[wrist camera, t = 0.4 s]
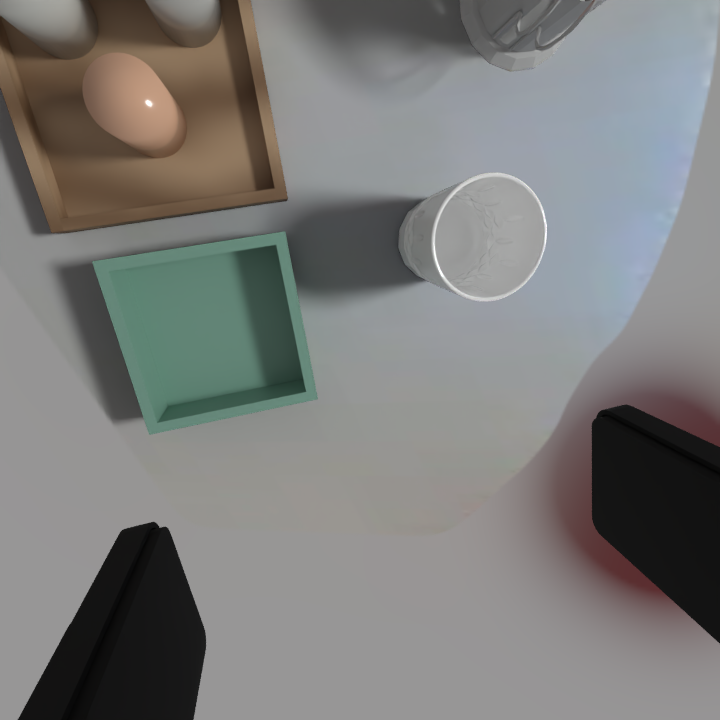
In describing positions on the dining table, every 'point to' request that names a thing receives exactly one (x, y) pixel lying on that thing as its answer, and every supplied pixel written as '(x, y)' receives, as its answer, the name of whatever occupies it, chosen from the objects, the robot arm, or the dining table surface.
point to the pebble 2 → (187, 20)
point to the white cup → (476, 237)
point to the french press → (521, 28)
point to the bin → (209, 330)
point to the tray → (125, 164)
